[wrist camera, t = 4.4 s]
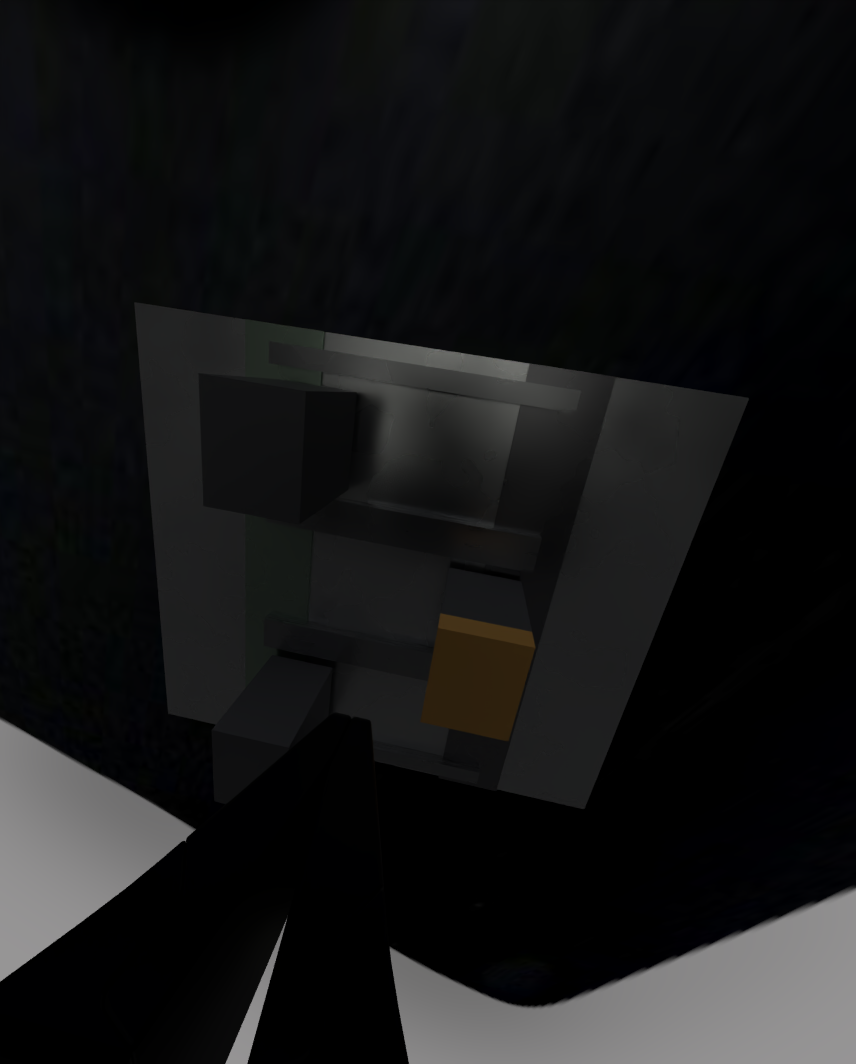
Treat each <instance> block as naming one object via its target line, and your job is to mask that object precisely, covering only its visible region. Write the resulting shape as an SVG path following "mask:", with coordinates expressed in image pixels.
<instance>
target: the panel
mask: <svg viewBox="0 0 856 1064" xmlns="http://www.w3.org/2000/svg"><path fill="white" fill-rule="evenodd" d="M134 304H135V316H136V328H137V340H138V353H139V365H140V377H141V389H142V401H143V413H144V425H145V437H146V449H147V462H148V474H149V486H150V498H151V510H152V522H153V534H154V546H155V558H156V571H157V583H158V595H159V607H160V619H161V631H162V643H163V655H164V668H165V680H166V692H167V704H168V714H173V715H177V716H181V717H186V718H190V719H194V720H199V721H203V722H207V723H212V724H217V723H218V721H219V720H220V719H221V718H222V716H223V715H224V714H225V713H226V712H227V710H228V709H229V708H230V707H231V705H232V704H233V703H234V702H235V700H236V699H237V698H238V697H239V695H240V694H241V693H242V692H243V690H244V689H245V688H246V687H247V685H248V684H249V683H250V682H251V681H252V679H253V678H254V677H255V676H256V674H257V673H258V672H259V671H260V669H261V668H262V667H263V666H264V664H265V663H266V662H267V661H268V659H269V658H270V657H271V656H272V655H275V656H280V657H285V658H289V659H294V660H299V661H303V662H308V663H313V664H317V665H322V666H327V667H331V668H333V669H332V681H331V692H330V703H329V715H330V714H332V713H334V712H337V713H341V714H346V715H350V716H351V718H353V717H360V718H364V719H368V720H370V721H371V725H372V738H373V751H374V761H377V762H381V763H386V764H390V765H394V766H399V767H403V768H407V769H412V770H416V771H420V772H425V773H429V774H433V775H438V776H439V778H441V779H446V780H450V781H454V782H459V783H463V784H467V785H472V786H476V787H480V788H485V789H489V790H493V791H496V790H497V789H499V790H503V791H507V792H512V793H516V794H520V795H525V796H529V797H533V798H538V799H542V800H546V801H551V802H555V803H559V804H564V805H568V806H572V807H577V808H581V809H585V806H586V804H587V801H588V799H589V796H590V794H591V791H592V789H593V786H594V784H595V781H596V779H597V776H598V774H599V771H600V769H601V766H602V764H603V761H604V759H605V756H606V754H607V751H608V749H609V746H610V744H611V741H612V739H613V736H614V734H615V731H616V729H617V726H618V724H619V721H620V719H621V716H622V714H623V711H624V709H625V706H626V704H627V701H628V699H629V696H630V694H631V691H632V689H633V686H634V684H635V682H636V679H637V677H638V674H639V672H640V669H641V667H642V664H643V662H644V659H645V657H646V654H647V652H648V649H649V647H650V644H651V642H652V639H653V637H654V634H655V632H656V629H657V627H658V624H659V622H660V619H661V617H662V614H663V612H664V609H665V607H666V604H667V602H668V599H669V597H670V594H671V592H672V589H673V587H674V584H675V582H676V579H677V577H678V574H679V572H680V569H681V567H682V564H683V562H684V559H685V557H686V554H687V552H688V549H689V547H690V544H691V542H692V539H693V537H694V534H695V532H696V529H697V527H698V524H699V522H700V520H701V517H702V515H703V512H704V510H705V507H706V505H707V502H708V500H709V497H710V495H711V492H712V490H713V487H714V485H715V482H716V480H717V477H718V475H719V472H720V470H721V467H722V465H723V462H724V460H725V457H726V455H727V452H728V450H729V447H730V445H731V442H732V440H733V437H734V435H735V432H736V430H737V427H738V425H739V422H740V420H741V417H742V415H743V412H744V410H745V407H746V405H747V402H748V400H749V398H745V397H739V396H732V395H726V394H719V393H713V392H707V391H700V390H694V389H687V388H681V387H674V386H668V385H662V384H655V383H649V382H642V381H636V380H630V379H623V378H617V377H612V376H606V375H600V374H593V373H587V372H580V371H574V370H568V369H561V368H555V367H548V366H542V365H535V364H527V363H521V362H514V361H508V360H501V359H495V358H489V357H482V356H476V355H469V354H463V353H457V352H450V351H444V350H437V349H431V348H424V347H418V346H412V345H405V344H399V343H392V342H386V341H380V340H373V339H367V338H360V337H354V336H348V335H341V334H335V333H328V332H324V331H317V330H311V329H305V328H298V327H292V326H285V325H279V324H273V323H266V322H260V321H253V320H247V319H239V318H232V317H226V316H219V315H213V314H207V313H200V312H194V311H187V310H181V309H174V308H168V307H162V306H155V305H149V304H142V303H136V302H134ZM198 373H203V374H216V375H230V376H243V377H256V378H270V379H281V380H287V381H293V382H299V383H305V384H311V385H317V386H323V387H329V388H335V389H341V390H348V391H354V392H357V397H356V408H355V420H354V431H353V442H352V454H351V465H350V476H349V488H348V490H347V491H346V492H344V493H343V494H342V495H340V496H339V497H337V498H336V499H335V500H333V501H332V502H330V503H329V504H328V505H326V506H325V507H323V508H322V509H321V510H319V511H318V512H316V513H315V514H313V515H312V516H311V517H309V518H308V519H306V520H305V521H304V522H302V523H301V524H294V523H289V522H284V521H279V520H273V519H268V518H263V517H258V516H252V515H247V514H242V513H237V512H231V511H226V510H221V509H216V508H210V507H205V506H203V483H202V456H201V429H200V402H199V375H198ZM449 567H450V568H455V569H460V570H465V571H471V572H476V573H481V574H486V575H491V576H496V577H502V578H507V579H512V580H517V581H522V586H523V591H524V596H525V600H526V605H527V610H528V615H529V619H530V624H531V629H532V634H533V639H534V643H535V651H534V654H533V658H532V661H531V665H530V668H529V672H528V675H527V679H526V682H525V686H524V689H523V693H522V696H521V699H520V703H519V706H518V710H517V713H516V717H515V720H514V724H513V727H512V731H511V734H510V738H509V741H504V740H499V739H495V738H490V737H486V736H481V735H476V734H472V733H467V732H463V731H458V730H454V729H449V728H445V727H440V726H436V725H431V724H427V723H422V722H420V720H421V715H422V710H423V704H424V699H425V694H426V688H427V683H428V678H429V672H430V667H431V662H432V656H433V651H434V646H435V640H436V635H437V630H438V624H439V619H440V614H441V609H442V604H443V598H444V593H445V588H446V583H447V577H448V572H449ZM329 715H328V716H329Z"/></svg>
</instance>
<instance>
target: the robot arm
mask: <svg viewBox="0 0 856 1064" xmlns="http://www.w3.org/2000/svg"><path fill="white" fill-rule="evenodd" d="M383 889H384V882H383V869H382V856H381V842H380V829H379V816H378V803H377V790H376V777H375V764H374V751H373V738H372V725H371V721H370V720H368V719H364V718H360V717H353V718H351V716H350V715H346V714H341V713H337V712H334V713H332V714H330V715H329V716H328V717H327V718H326V719H324V720H323V721H322V722H321V723H320V724H319V725H317V726H316V727H315V728H314V729H313V730H312V731H310V732H309V733H308V734H307V735H306V736H305V737H303V738H302V739H301V740H300V741H299V742H298V743H296V744H295V745H294V746H293V747H292V748H291V749H289V750H288V751H287V752H286V753H285V754H284V755H282V756H281V757H280V758H279V759H278V760H277V761H275V762H274V763H273V764H272V765H271V766H270V767H268V768H267V769H266V770H265V771H264V772H263V773H261V774H260V775H259V776H258V777H257V778H256V779H254V780H253V781H252V782H251V783H250V784H249V785H248V786H246V787H245V788H244V789H243V790H242V791H241V792H239V793H238V794H237V795H236V796H235V797H234V798H232V799H231V800H230V801H229V802H228V803H227V804H225V805H224V806H223V807H222V808H221V809H220V810H218V811H217V812H216V813H215V814H214V815H213V816H211V817H210V818H209V819H208V820H207V821H206V822H204V823H203V824H202V825H201V826H200V827H199V828H197V829H196V830H195V831H194V832H193V833H192V834H191V835H189V836H188V837H187V839H186V842H185V841H182V842H181V843H180V844H178V846H176V847H175V848H174V849H173V850H172V851H170V852H169V853H168V854H167V855H166V856H165V857H164V858H162V859H161V860H160V861H159V862H157V863H156V864H155V865H154V866H153V867H151V868H150V869H149V870H148V871H146V872H145V873H144V874H143V875H142V876H140V877H139V878H138V879H137V880H136V881H134V882H133V883H132V884H131V885H130V886H128V887H127V888H126V889H125V890H123V891H122V892H120V893H119V894H118V895H117V896H115V897H114V898H113V899H111V900H110V901H109V902H107V903H106V904H105V905H103V906H102V907H101V908H99V909H98V910H97V911H96V912H94V913H93V914H91V915H90V916H89V917H88V918H86V919H85V920H84V921H82V922H81V923H80V924H78V925H77V926H76V927H74V928H73V929H71V930H70V931H69V932H67V933H66V934H65V935H63V936H62V937H61V938H59V939H58V940H57V941H55V942H54V943H52V944H51V945H50V946H48V947H47V948H45V949H44V950H43V951H41V952H40V953H39V954H37V955H36V956H35V957H33V958H32V959H30V960H29V961H28V962H27V963H25V964H24V965H22V966H21V967H20V968H18V969H17V970H16V971H14V972H13V973H11V974H10V975H9V976H7V977H6V978H5V979H3V980H2V981H1V982H0V1064H225V1063H226V1061H227V1058H228V1056H229V1053H230V1051H231V1049H232V1047H233V1044H234V1042H235V1040H236V1037H237V1035H238V1032H239V1030H240V1028H241V1025H242V1023H243V1021H244V1018H245V1016H246V1013H247V1011H248V1009H249V1006H250V1004H251V1002H252V999H253V997H254V995H255V992H256V990H257V988H258V985H259V983H260V980H261V978H262V976H263V973H264V971H265V969H266V966H267V964H268V962H269V959H270V957H271V954H272V952H273V950H274V947H275V945H276V943H277V940H278V938H279V936H280V933H281V931H282V928H283V926H284V924H285V921H286V919H287V921H286V925H285V929H284V933H283V936H282V940H281V943H280V947H279V951H278V955H277V958H276V961H275V965H274V969H273V973H272V976H271V980H270V983H269V987H268V991H267V994H266V998H265V1002H264V1005H263V1009H262V1012H261V1016H260V1020H259V1023H258V1027H257V1031H256V1034H255V1038H254V1041H253V1045H252V1049H251V1053H250V1056H249V1060H248V1064H409V1062H408V1056H407V1051H406V1045H405V1040H404V1035H403V1030H402V1024H401V1018H400V1013H399V1008H398V1001H397V996H396V989H395V983H394V976H393V970H392V964H391V957H390V947H389V938H388V928H387V918H386V905H385V893H384V891H383ZM287 917H288V918H287Z"/></svg>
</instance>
